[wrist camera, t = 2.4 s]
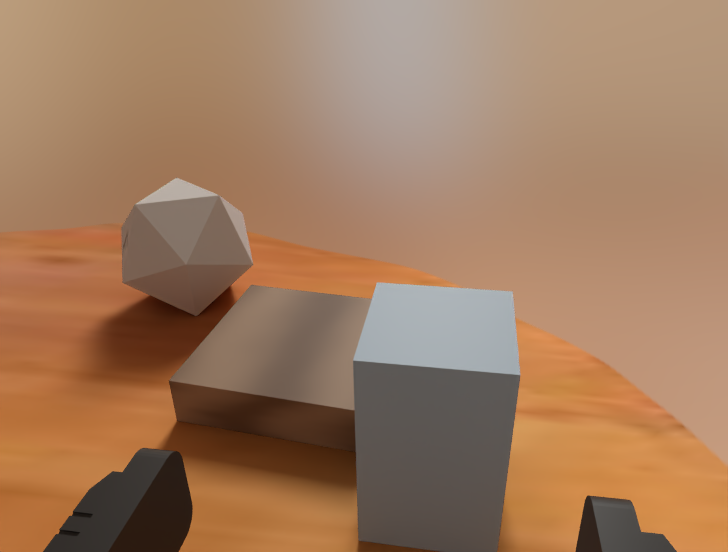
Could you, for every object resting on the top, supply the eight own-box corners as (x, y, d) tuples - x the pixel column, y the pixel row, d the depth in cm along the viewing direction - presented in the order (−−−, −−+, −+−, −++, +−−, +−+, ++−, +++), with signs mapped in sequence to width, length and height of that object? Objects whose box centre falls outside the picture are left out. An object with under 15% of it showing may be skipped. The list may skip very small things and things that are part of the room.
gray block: (358, 540, 25) (353, 360, 21) (378, 444, 30) (376, 282, 25) (496, 559, 24) (520, 374, 20) (493, 457, 29) (512, 291, 24)
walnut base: (178, 427, 32) (168, 380, 30) (255, 324, 40) (251, 284, 39) (365, 460, 29) (364, 412, 28) (405, 344, 38) (406, 302, 36)
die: (178, 267, 48) (82, 195, 41) (269, 214, 46) (186, 129, 39) (186, 352, 43) (78, 287, 36) (289, 295, 41) (197, 215, 34)
